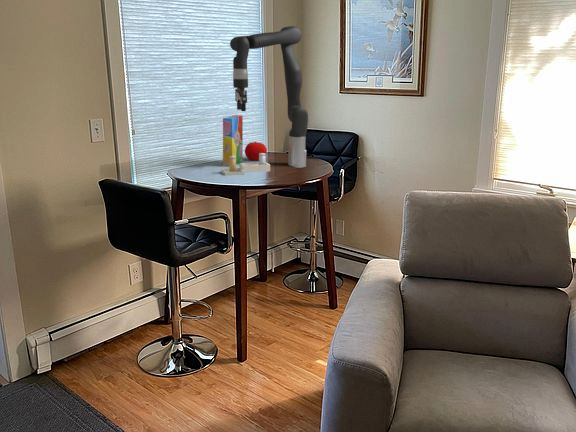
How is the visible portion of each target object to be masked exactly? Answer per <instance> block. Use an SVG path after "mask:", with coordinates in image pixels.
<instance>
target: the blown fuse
mask: <svg viewBox="0 0 576 432" xmlns="http://www.w3.org/2000/svg"><path fill="white" fill-rule="evenodd" d="M236 165H237V164H236V156H229V167H228V168H229V169H230V172H237V171H236V168H237V166H236Z"/></svg>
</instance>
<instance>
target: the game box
mask: <svg viewBox="0 0 576 432" xmlns="http://www.w3.org/2000/svg"><path fill="white" fill-rule="evenodd" d="M243 117H244V116H243V115H242V114H241V115H239V114H238V115H237V114H233V115H230V116H227V117H222V167H228V168H229V156H236V165H240V163H241V162H242V163H244V162H243V158H244V157H243V151H244V149H243V141H244V139H243V128H244V127H243V126H244V125H243V124H244V123H243V122H244V121H243V120H244V119H243Z"/></svg>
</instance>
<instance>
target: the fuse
mask: <svg viewBox="0 0 576 432" xmlns="http://www.w3.org/2000/svg"><path fill="white" fill-rule="evenodd" d="M265 162H266V156H265V153H259V160H258V163H259V165H265Z"/></svg>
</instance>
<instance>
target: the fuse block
mask: <svg viewBox="0 0 576 432" xmlns="http://www.w3.org/2000/svg"><path fill="white" fill-rule="evenodd" d="M239 168H240V169H242V170H243V171H244V173H262V172H263V173H264V172H267V173H268V172H271V164H270V163H268V162H267V161H265V165H259V162H245V163H244V162H242V163H240V164H239Z"/></svg>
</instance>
